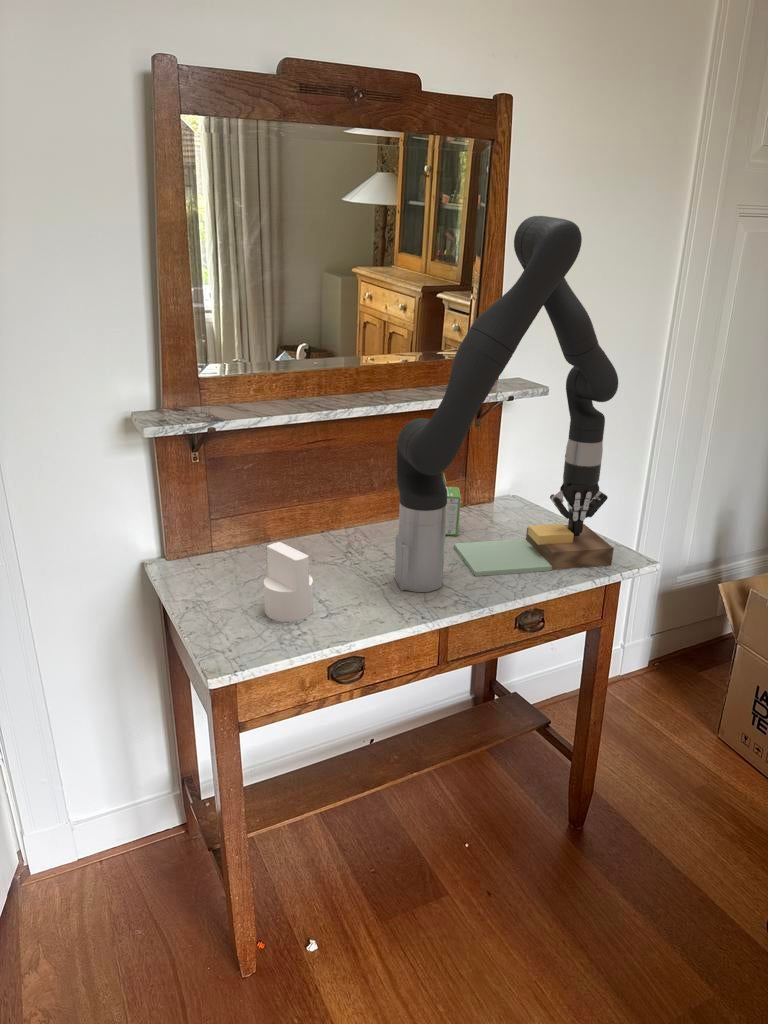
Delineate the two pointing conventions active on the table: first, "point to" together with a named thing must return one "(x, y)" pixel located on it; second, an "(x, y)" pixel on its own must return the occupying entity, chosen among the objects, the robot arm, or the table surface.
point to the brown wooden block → (576, 551)
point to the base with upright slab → (287, 584)
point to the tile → (550, 534)
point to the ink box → (452, 510)
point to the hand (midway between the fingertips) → (574, 534)
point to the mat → (501, 557)
